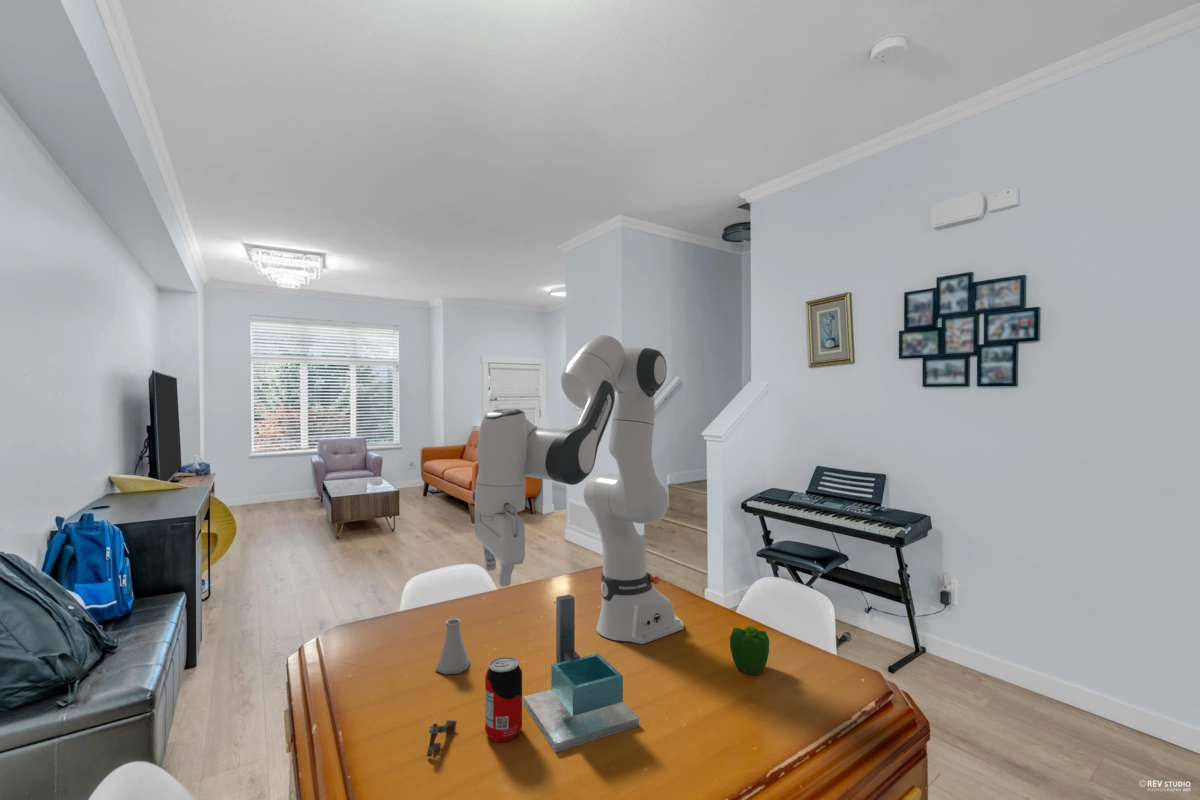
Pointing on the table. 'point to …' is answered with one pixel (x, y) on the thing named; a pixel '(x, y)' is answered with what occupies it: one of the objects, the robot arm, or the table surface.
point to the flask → (453, 651)
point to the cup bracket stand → (579, 692)
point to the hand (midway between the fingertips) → (496, 577)
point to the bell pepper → (749, 649)
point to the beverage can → (503, 699)
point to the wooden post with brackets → (434, 730)
